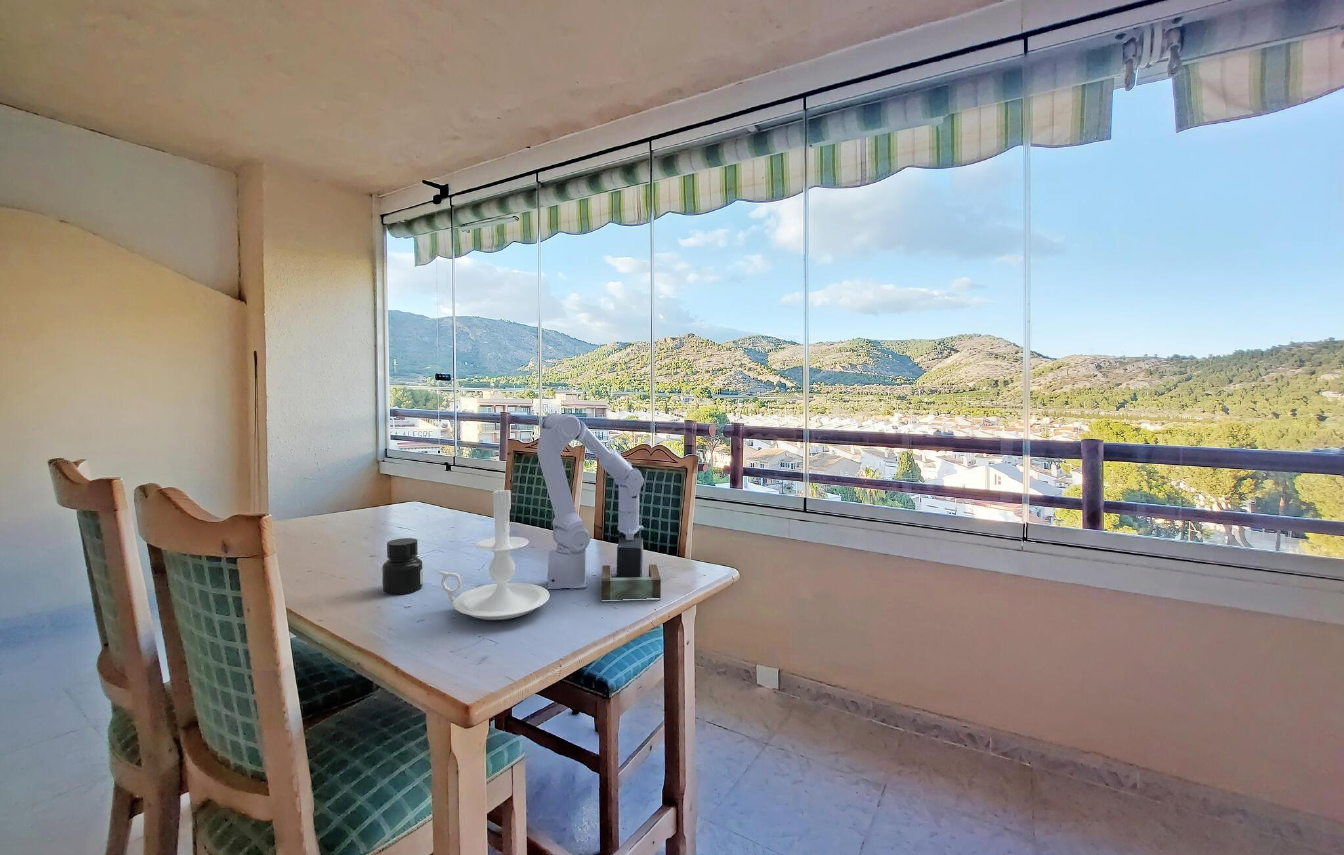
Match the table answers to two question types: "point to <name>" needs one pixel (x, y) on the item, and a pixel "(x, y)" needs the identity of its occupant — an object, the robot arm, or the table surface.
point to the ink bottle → (402, 567)
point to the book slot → (631, 585)
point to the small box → (629, 558)
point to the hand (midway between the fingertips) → (628, 559)
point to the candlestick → (498, 575)
